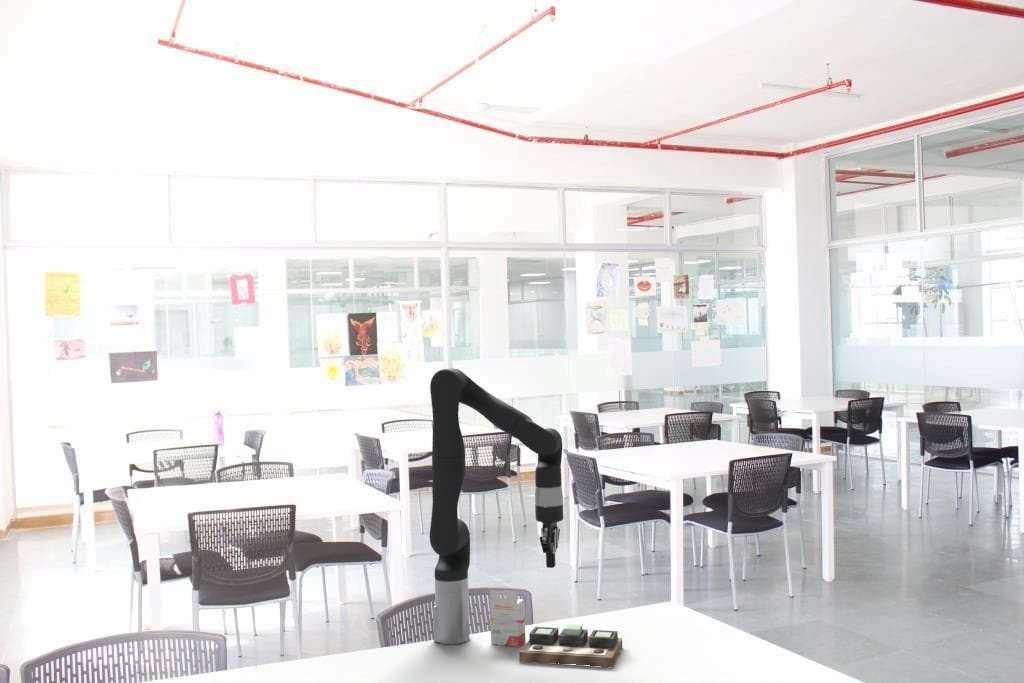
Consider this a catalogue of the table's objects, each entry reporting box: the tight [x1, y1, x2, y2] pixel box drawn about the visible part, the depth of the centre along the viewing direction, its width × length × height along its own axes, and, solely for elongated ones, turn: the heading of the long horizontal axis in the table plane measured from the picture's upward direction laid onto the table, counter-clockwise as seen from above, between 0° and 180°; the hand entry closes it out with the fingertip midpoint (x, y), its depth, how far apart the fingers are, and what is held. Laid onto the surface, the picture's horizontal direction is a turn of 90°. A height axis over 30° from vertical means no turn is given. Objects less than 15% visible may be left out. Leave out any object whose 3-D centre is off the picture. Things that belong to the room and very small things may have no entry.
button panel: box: [519, 626, 623, 668], centre depth 244 cm, size 24×16×5 cm, turn 74°
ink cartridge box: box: [489, 590, 527, 648], centre depth 255 cm, size 9×5×15 cm, turn 68°
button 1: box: [535, 629, 553, 634], centre depth 248 cm, size 4×4×2 cm
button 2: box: [594, 632, 612, 638], centre depth 244 cm, size 4×4×2 cm
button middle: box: [563, 623, 583, 636], centre depth 246 cm, size 4×4×2 cm
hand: (550, 567), depth 252 cm, fingers closed
